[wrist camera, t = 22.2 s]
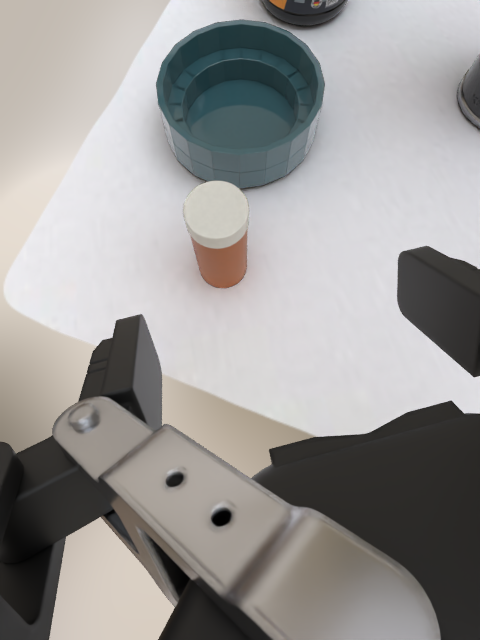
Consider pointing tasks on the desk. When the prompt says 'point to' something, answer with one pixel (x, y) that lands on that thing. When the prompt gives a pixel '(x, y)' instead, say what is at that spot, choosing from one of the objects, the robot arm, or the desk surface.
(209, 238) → the pill bottle
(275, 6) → the supplement container
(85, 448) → the robot arm
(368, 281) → the desk surface
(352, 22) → the desk surface
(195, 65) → the bowl
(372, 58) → the desk surface
